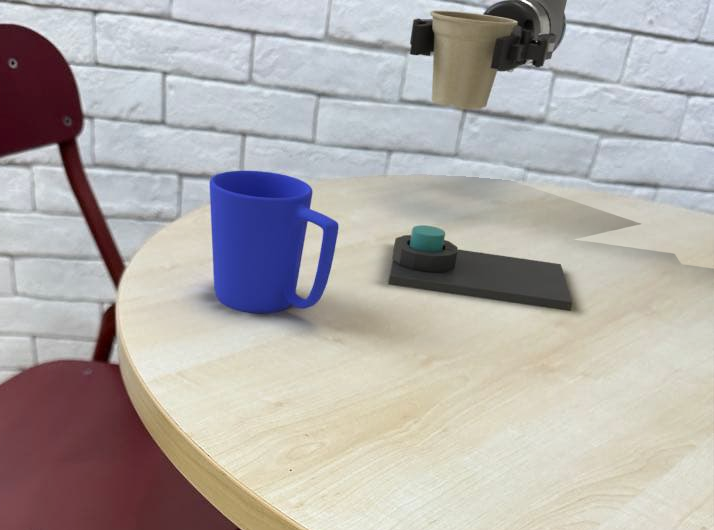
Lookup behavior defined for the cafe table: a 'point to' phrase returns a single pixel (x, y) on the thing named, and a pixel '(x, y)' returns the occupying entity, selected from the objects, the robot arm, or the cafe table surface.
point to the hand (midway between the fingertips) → (455, 47)
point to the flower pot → (465, 57)
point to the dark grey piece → (479, 275)
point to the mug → (264, 240)
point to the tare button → (427, 238)
